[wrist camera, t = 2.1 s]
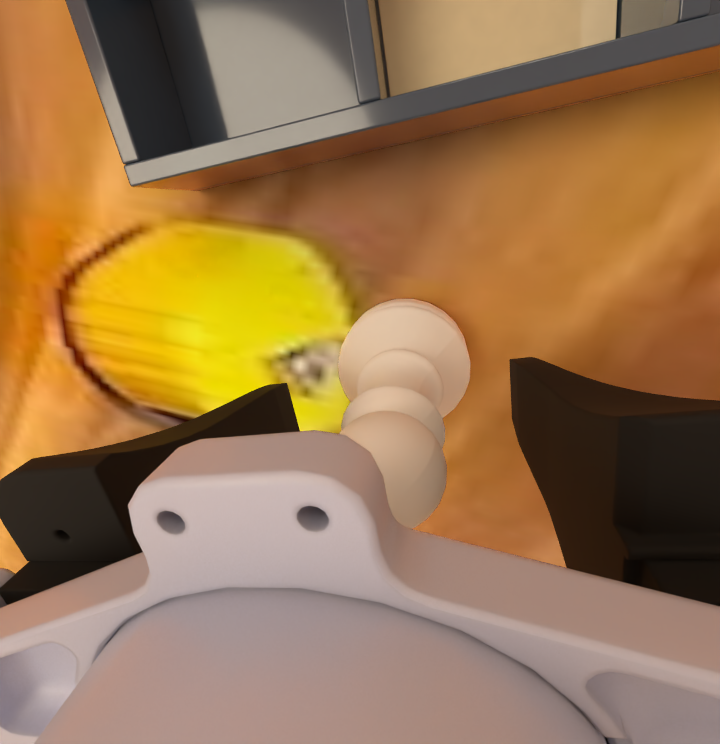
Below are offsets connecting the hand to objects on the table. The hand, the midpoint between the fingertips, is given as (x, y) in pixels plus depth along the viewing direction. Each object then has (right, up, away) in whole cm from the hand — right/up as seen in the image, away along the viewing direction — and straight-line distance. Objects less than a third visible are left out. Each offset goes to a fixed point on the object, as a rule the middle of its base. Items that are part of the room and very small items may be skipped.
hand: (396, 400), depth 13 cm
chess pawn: (+1, +2, +4) cm, 4 cm away
